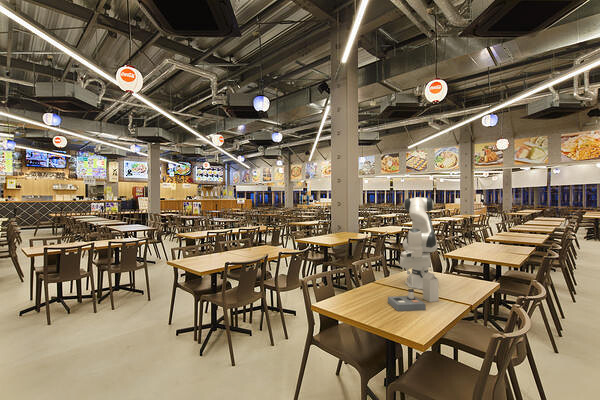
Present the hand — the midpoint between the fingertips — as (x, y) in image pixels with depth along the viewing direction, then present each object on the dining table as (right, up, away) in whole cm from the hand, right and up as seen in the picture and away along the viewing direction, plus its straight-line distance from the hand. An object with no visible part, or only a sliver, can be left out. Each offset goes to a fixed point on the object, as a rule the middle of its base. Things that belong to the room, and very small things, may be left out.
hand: (415, 274), depth 191 cm
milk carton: (+13, -20, +7) cm, 25 cm away
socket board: (-8, -20, -4) cm, 22 cm away
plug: (-4, -20, -2) cm, 20 cm away
